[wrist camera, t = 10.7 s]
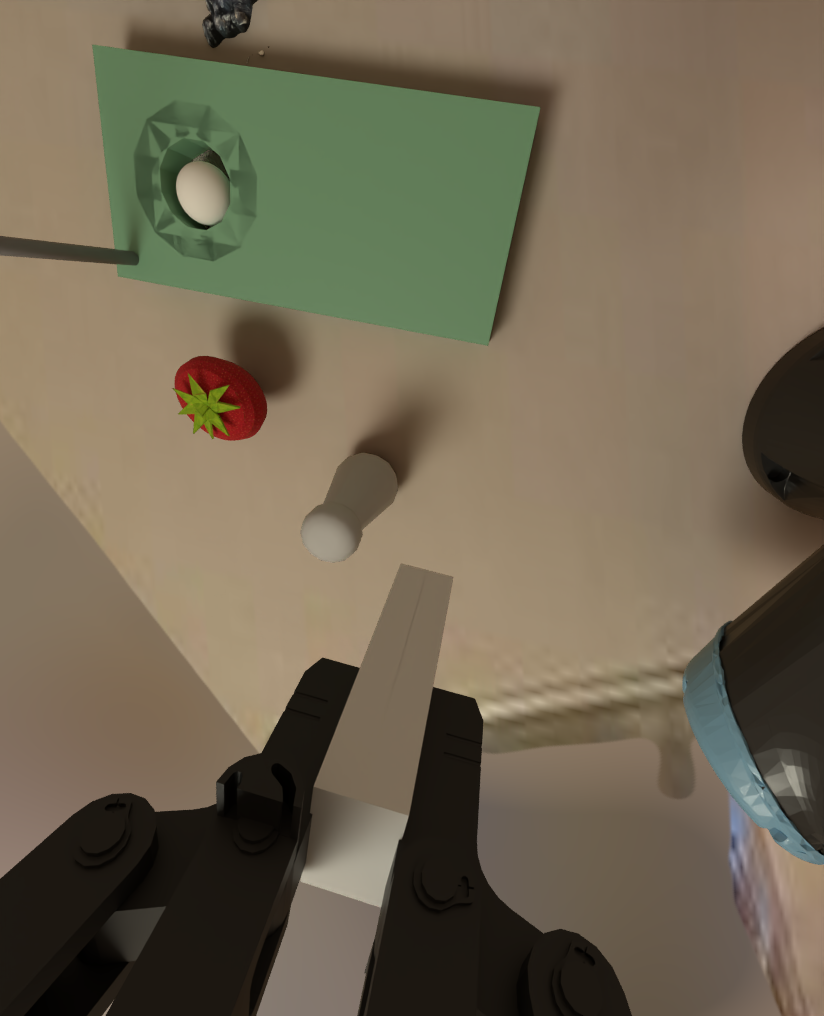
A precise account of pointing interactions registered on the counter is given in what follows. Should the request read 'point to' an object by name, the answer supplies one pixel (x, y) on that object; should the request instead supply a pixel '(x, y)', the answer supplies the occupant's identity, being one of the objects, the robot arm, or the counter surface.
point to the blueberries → (227, 20)
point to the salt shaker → (349, 507)
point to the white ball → (203, 192)
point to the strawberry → (220, 398)
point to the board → (310, 191)
